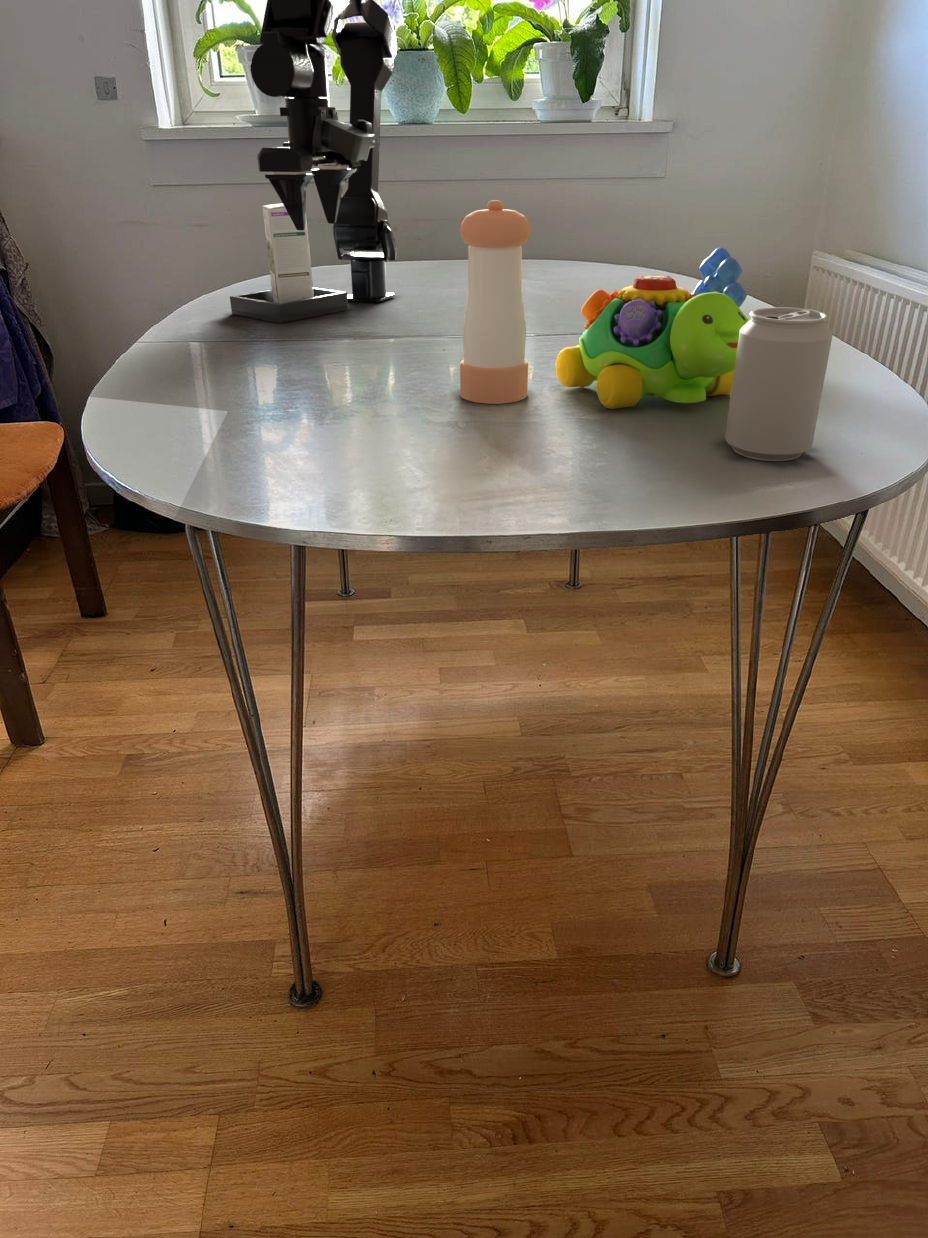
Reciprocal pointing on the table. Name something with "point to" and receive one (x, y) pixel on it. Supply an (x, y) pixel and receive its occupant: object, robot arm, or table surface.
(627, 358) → the turtle toy
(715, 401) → the table surface
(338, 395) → the table surface
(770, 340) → the can
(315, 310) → the baking tray
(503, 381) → the pepper shaker
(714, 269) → the grapes
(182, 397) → the table surface
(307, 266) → the syrup box
